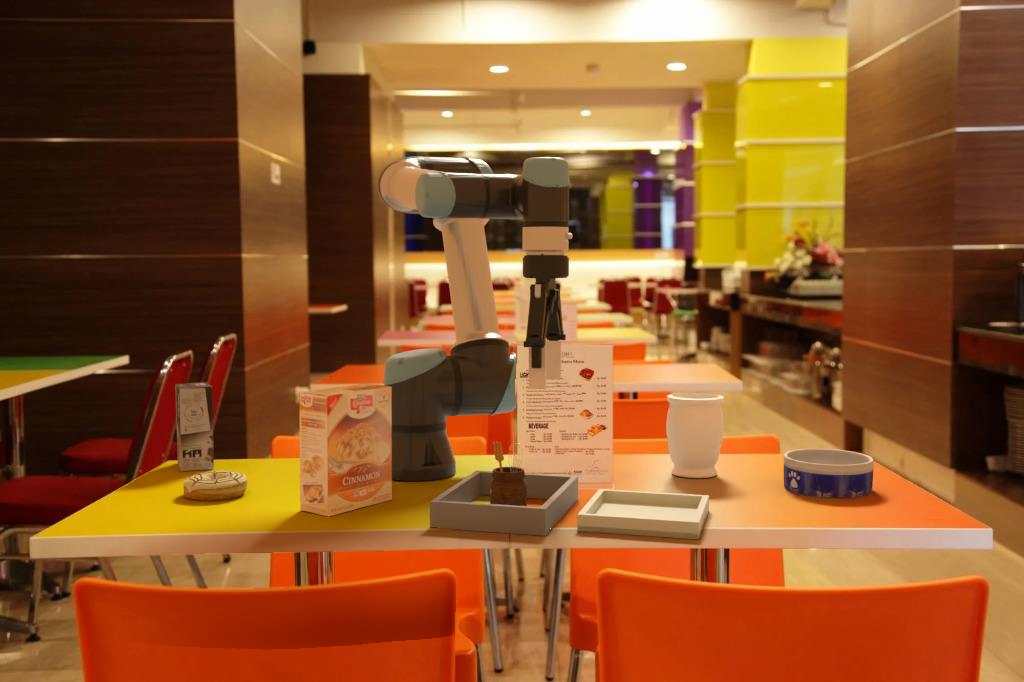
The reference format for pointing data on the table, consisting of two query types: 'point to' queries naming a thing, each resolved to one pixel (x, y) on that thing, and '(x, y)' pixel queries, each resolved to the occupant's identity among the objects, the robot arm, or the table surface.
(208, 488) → the decorated donut
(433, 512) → the bottomless rectangular frame
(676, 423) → the jar
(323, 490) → the coffeecake box
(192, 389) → the coffee box
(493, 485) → the brown container
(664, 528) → the tray
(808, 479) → the dog bowl
